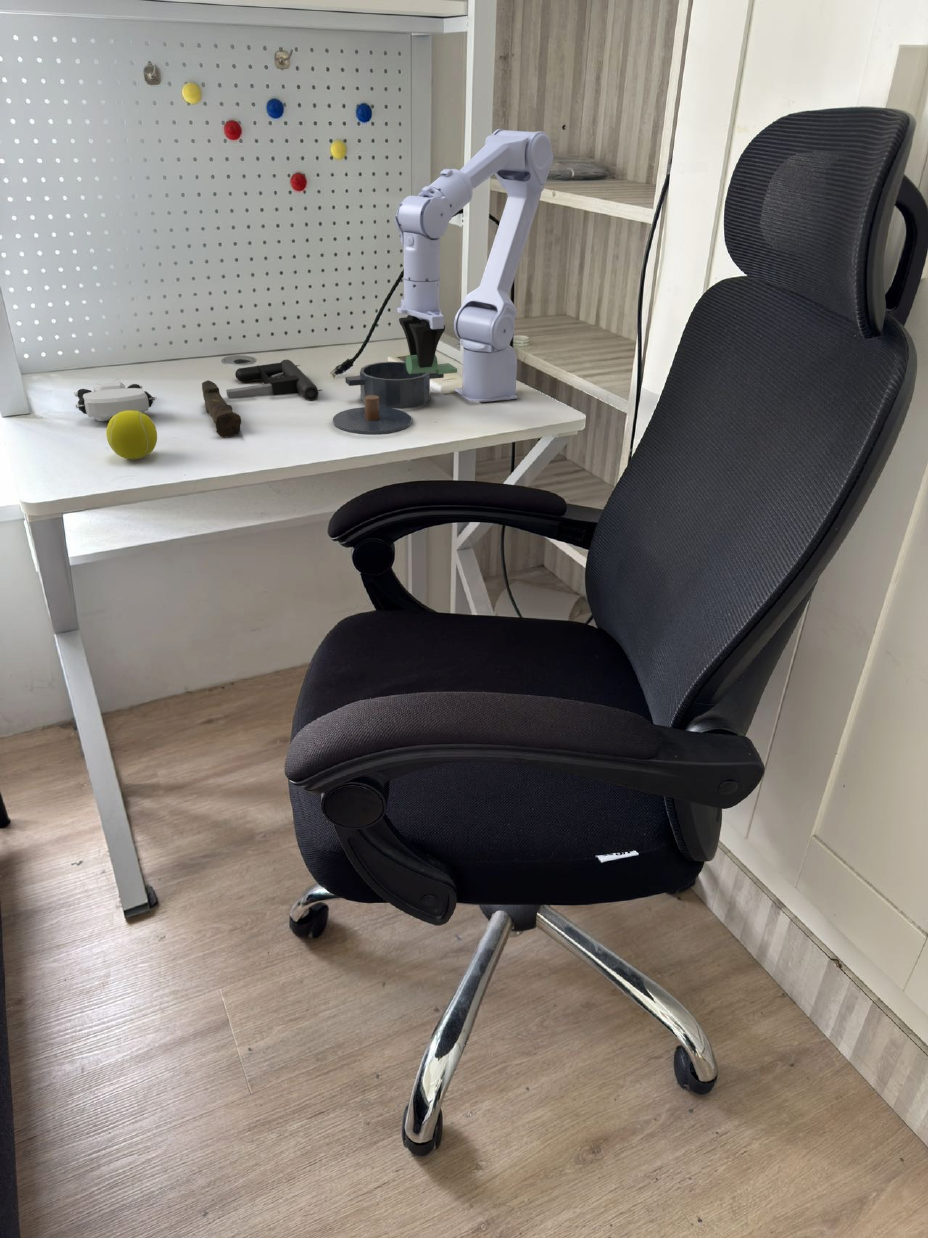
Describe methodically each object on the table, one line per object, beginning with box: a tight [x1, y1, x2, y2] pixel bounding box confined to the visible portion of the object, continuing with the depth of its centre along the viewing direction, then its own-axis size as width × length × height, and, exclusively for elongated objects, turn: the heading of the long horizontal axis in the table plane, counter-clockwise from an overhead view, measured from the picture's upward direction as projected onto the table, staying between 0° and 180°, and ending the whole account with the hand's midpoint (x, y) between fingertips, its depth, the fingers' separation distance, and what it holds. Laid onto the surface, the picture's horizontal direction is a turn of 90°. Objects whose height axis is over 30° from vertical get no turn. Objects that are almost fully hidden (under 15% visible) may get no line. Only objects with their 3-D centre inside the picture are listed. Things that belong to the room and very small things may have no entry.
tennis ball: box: [106, 410, 158, 460], centre depth 134 cm, size 7×7×7 cm
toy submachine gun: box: [225, 359, 322, 401], centre depth 167 cm, size 3×20×16 cm
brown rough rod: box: [201, 379, 242, 438], centre depth 151 cm, size 19×4×5 cm, turn 21°
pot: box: [344, 361, 445, 410], centre depth 162 cm, size 12×18×6 cm
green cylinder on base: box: [405, 354, 458, 375], centre depth 153 cm, size 8×4×3 cm, turn 113°
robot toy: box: [73, 381, 158, 422], centre depth 153 cm, size 12×4×15 cm
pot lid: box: [332, 395, 413, 435], centre depth 151 cm, size 13×13×5 cm
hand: (421, 364), depth 153 cm, fingers closed on green cylinder on base, 3 cm apart
